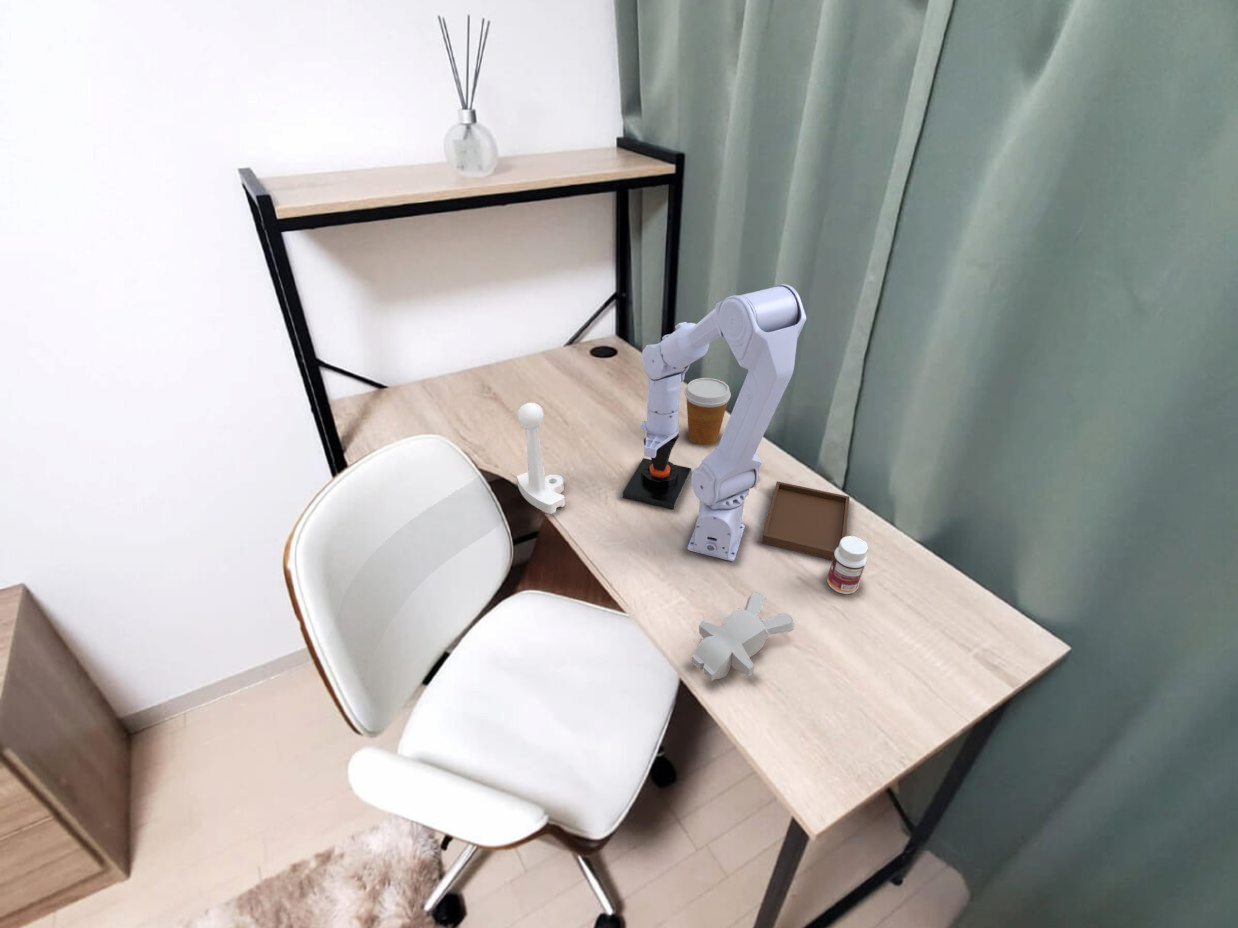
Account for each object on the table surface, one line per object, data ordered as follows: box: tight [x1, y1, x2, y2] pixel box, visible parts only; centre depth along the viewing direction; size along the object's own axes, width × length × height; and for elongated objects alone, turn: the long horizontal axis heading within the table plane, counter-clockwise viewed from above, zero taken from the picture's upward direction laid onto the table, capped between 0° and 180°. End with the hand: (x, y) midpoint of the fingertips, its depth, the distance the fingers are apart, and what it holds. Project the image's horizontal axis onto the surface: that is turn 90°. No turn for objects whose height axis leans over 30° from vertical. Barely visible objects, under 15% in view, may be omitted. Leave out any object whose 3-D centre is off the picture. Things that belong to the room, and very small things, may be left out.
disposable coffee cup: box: [683, 377, 732, 446], centre depth 127 cm, size 10×10×12 cm
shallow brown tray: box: [760, 481, 851, 561], centre depth 107 cm, size 16×13×2 cm
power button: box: [649, 464, 670, 478], centre depth 115 cm, size 4×4×2 cm
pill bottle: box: [826, 535, 869, 595], centre depth 93 cm, size 5×5×8 cm
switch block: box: [622, 457, 692, 511], centre depth 115 cm, size 12×10×3 cm
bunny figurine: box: [690, 591, 796, 682], centre depth 84 cm, size 10×5×15 cm
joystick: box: [516, 402, 566, 515], centre depth 108 cm, size 11×8×20 cm
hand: (659, 468), depth 115 cm, fingers closed, pressing on power button
